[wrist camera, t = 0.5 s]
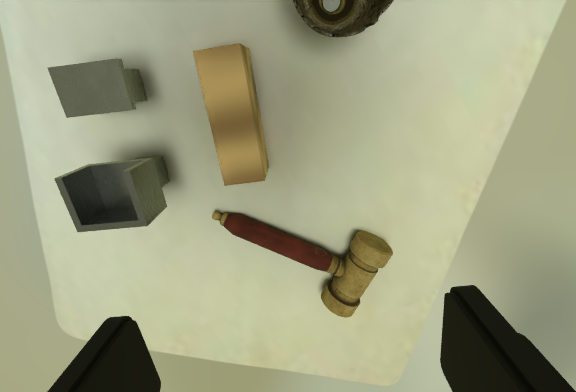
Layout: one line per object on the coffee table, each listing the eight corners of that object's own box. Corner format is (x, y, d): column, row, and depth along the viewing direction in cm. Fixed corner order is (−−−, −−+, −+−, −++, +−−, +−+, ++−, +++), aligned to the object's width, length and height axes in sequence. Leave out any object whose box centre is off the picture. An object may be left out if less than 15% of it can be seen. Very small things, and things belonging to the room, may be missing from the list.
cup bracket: (119, 151, 33) (54, 178, 24) (175, 145, 32) (129, 170, 23) (133, 192, 35) (77, 232, 26) (186, 187, 34) (147, 225, 25)
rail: (209, 55, 29) (192, 51, 24) (249, 48, 29) (239, 43, 24) (234, 170, 33) (224, 185, 29) (269, 166, 33) (264, 180, 28)
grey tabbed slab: (94, 69, 30) (47, 67, 24) (151, 62, 29) (117, 58, 24) (108, 110, 31) (66, 117, 25) (162, 103, 31) (132, 109, 25)
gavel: (193, 257, 34) (219, 183, 31) (206, 238, 38) (231, 171, 35) (354, 323, 35) (398, 260, 32) (350, 298, 40) (388, 239, 36)
